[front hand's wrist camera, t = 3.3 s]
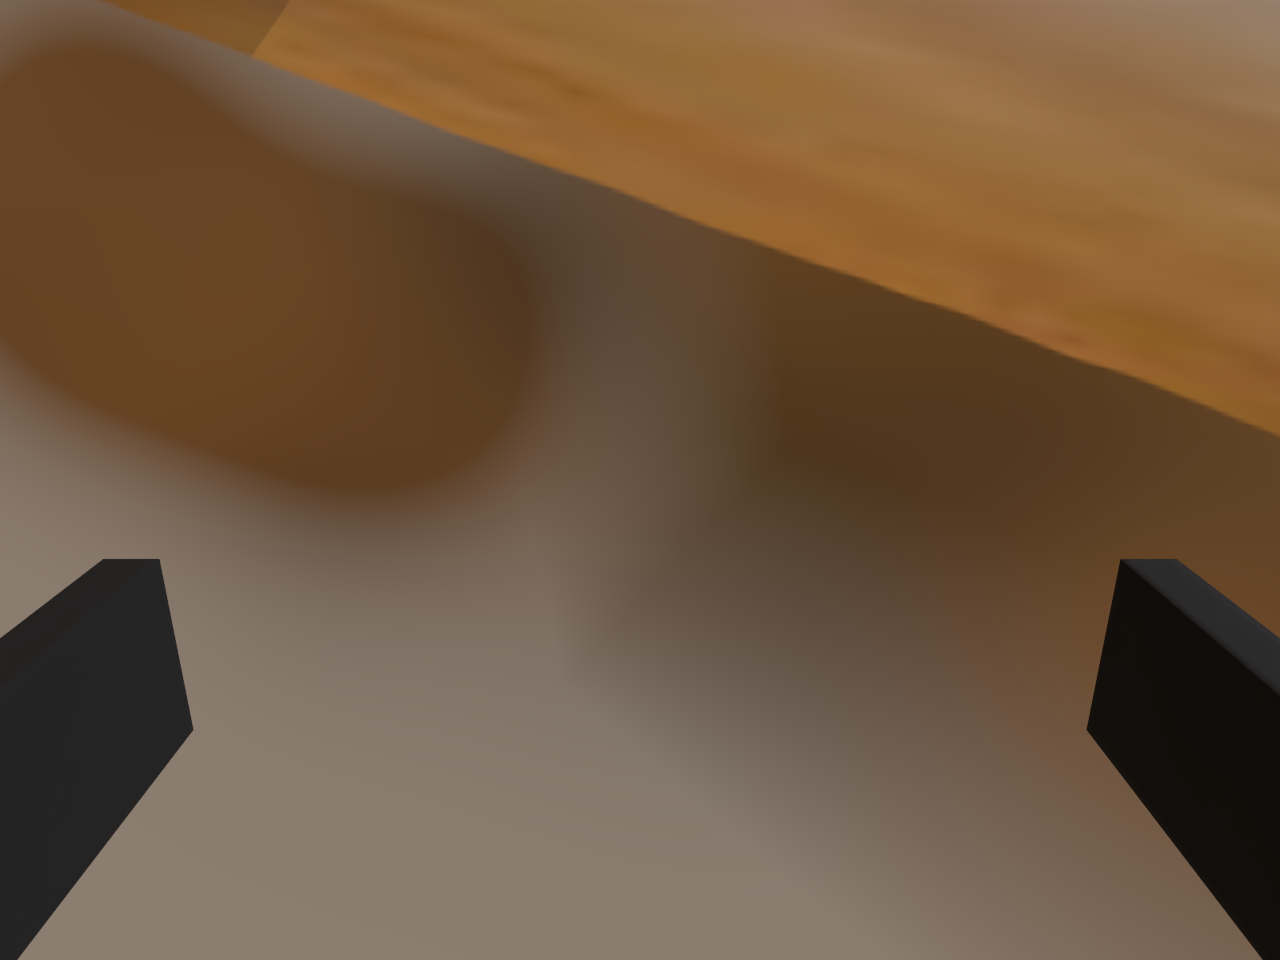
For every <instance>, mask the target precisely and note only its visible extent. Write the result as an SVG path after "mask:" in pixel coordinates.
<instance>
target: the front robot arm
mask: <svg viewBox="0 0 1280 960" xmlns="http://www.w3.org/2000/svg"><path fill="white" fill-rule="evenodd" d="M192 731H193V726H192V720H191V715H190V710H189V705H188V700H187V695H186V690H185V685H184V680H183V675H182V670H181V665H180V660H179V655H178V650H177V645H176V640H175V635H174V630H173V625H172V620H171V615H170V610H169V605H168V600H167V595H166V590H165V585H164V580H163V575H162V570H161V565H160V560H159V559H103V560H102V561H100V562H99V563H98V564H96V565H95V566H94V567H92V568H91V569H90V570H89V571H87V572H86V573H85V574H83V575H82V576H81V577H79V578H78V579H77V580H76V581H74V582H73V583H72V584H70V585H69V586H68V587H66V588H65V589H64V590H63V591H61V592H60V593H59V594H57V595H56V596H55V597H53V598H52V599H51V600H50V601H48V602H47V603H46V604H44V605H43V606H42V607H40V608H39V609H38V610H36V611H35V612H34V613H33V614H31V615H30V616H29V617H27V618H26V619H25V620H23V621H22V622H21V623H20V624H18V625H17V626H16V627H14V628H13V629H12V630H10V631H9V632H8V633H7V634H5V635H4V636H3V637H1V638H0V960H17V959H18V958H19V957H20V955H21V954H22V953H23V952H24V950H25V949H26V948H27V946H28V945H29V944H30V942H31V941H32V940H33V938H34V937H35V936H36V935H37V933H38V932H39V931H40V929H41V928H42V927H43V925H44V924H45V923H46V921H47V920H48V919H49V918H50V916H51V915H52V914H53V912H54V911H55V910H56V908H57V907H58V906H59V905H60V903H61V902H62V901H63V899H64V898H65V897H66V895H67V894H68V893H69V891H70V890H71V889H72V888H73V886H74V885H75V884H76V882H77V881H78V880H79V878H80V877H81V876H82V874H83V873H84V872H85V871H86V869H87V868H88V867H89V865H90V864H91V863H92V861H93V860H94V859H95V857H96V856H97V855H98V854H99V852H100V851H101V850H102V848H103V847H104V846H105V844H106V843H107V842H108V841H109V839H110V838H111V837H112V835H113V834H114V833H115V831H116V830H117V829H118V828H119V826H120V825H121V823H122V822H123V821H124V820H125V818H126V817H127V816H128V814H129V813H130V812H131V811H132V809H133V808H134V807H135V805H136V804H137V803H138V801H139V800H140V799H141V797H142V796H143V795H144V794H145V792H146V791H147V790H148V788H149V787H150V786H151V784H152V783H153V782H154V780H155V779H156V778H157V777H158V775H159V774H160V773H161V771H162V770H163V769H164V767H165V766H166V765H167V764H168V762H169V761H170V760H171V758H172V757H173V756H174V754H175V753H176V752H177V750H178V749H179V748H180V747H181V745H182V744H183V743H184V741H185V740H186V739H187V737H188V736H189V735H190V733H191V732H192ZM1087 731H1088V732H1089V734H1090V735H1091V736H1092V737H1093V739H1094V740H1095V741H1096V743H1097V744H1098V745H1099V747H1100V748H1101V749H1102V750H1103V752H1104V753H1105V754H1106V756H1107V757H1108V758H1109V760H1110V761H1111V762H1112V764H1113V765H1114V766H1115V767H1116V769H1117V770H1118V771H1119V773H1120V774H1121V775H1122V777H1123V778H1124V779H1125V780H1126V782H1127V783H1128V784H1129V786H1130V787H1131V788H1132V790H1133V791H1134V792H1135V794H1136V795H1137V796H1138V797H1139V799H1140V800H1141V801H1142V803H1143V804H1144V805H1145V807H1146V808H1147V809H1148V810H1149V812H1150V813H1151V814H1152V816H1153V817H1154V818H1155V820H1156V821H1157V822H1158V824H1159V825H1160V826H1161V828H1162V829H1163V830H1164V831H1165V833H1166V834H1167V835H1168V837H1169V838H1170V839H1171V841H1172V842H1173V843H1174V844H1175V846H1176V847H1177V848H1178V850H1179V851H1180V852H1181V854H1182V855H1183V856H1184V858H1185V859H1186V860H1187V861H1188V863H1189V864H1190V865H1191V867H1192V868H1193V869H1194V871H1195V872H1196V873H1197V875H1198V876H1199V877H1200V878H1201V880H1202V881H1203V882H1204V884H1205V885H1206V886H1207V887H1208V889H1209V890H1210V891H1211V893H1212V894H1213V895H1214V897H1215V898H1216V899H1217V901H1218V902H1219V903H1220V905H1221V906H1222V907H1223V908H1224V910H1225V911H1226V912H1227V914H1228V915H1229V916H1230V917H1231V919H1232V920H1233V922H1234V923H1235V924H1236V925H1237V927H1238V928H1239V929H1240V931H1241V932H1242V933H1243V935H1244V936H1245V937H1246V938H1247V940H1248V941H1249V942H1250V944H1251V945H1252V946H1253V948H1254V949H1255V950H1256V952H1257V953H1258V954H1259V955H1260V957H1261V958H1262V959H1263V960H1280V638H1279V637H1277V636H1276V635H1275V634H1273V633H1272V632H1271V631H1270V630H1268V629H1267V628H1266V627H1264V626H1263V625H1262V624H1260V623H1259V622H1258V621H1257V620H1255V619H1254V618H1253V617H1251V616H1250V615H1249V614H1247V613H1246V612H1245V611H1244V610H1242V609H1241V608H1240V607H1238V606H1237V605H1236V604H1234V603H1233V602H1232V601H1230V600H1229V599H1228V598H1227V597H1225V596H1224V595H1223V594H1221V593H1220V592H1219V591H1218V590H1216V589H1215V588H1213V587H1212V586H1211V585H1210V584H1208V583H1207V582H1206V581H1204V580H1203V579H1202V578H1201V577H1199V576H1198V575H1197V574H1195V573H1194V572H1193V571H1191V570H1190V569H1189V568H1187V567H1186V566H1185V565H1184V564H1182V563H1181V562H1180V561H1178V560H1177V559H1121V560H1120V565H1119V570H1118V575H1117V580H1116V585H1115V590H1114V595H1113V600H1112V605H1111V610H1110V615H1109V620H1108V625H1107V630H1106V635H1105V640H1104V645H1103V650H1102V655H1101V660H1100V665H1099V670H1098V675H1097V680H1096V685H1095V690H1094V695H1093V700H1092V705H1091V710H1090V715H1089V721H1088V725H1087Z"/></svg>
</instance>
